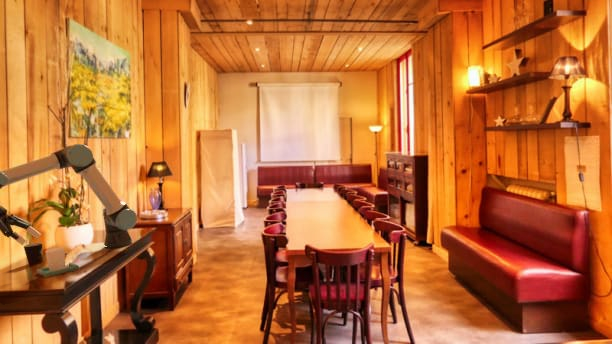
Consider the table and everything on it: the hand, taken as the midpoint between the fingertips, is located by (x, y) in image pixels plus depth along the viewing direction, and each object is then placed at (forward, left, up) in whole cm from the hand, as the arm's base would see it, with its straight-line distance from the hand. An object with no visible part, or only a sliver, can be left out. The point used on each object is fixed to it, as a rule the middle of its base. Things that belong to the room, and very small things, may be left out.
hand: (32, 239), depth 218 cm
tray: (-7, +7, -17) cm, 19 cm away
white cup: (-7, +6, -16) cm, 19 cm away
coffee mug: (-8, -29, -17) cm, 35 cm away
